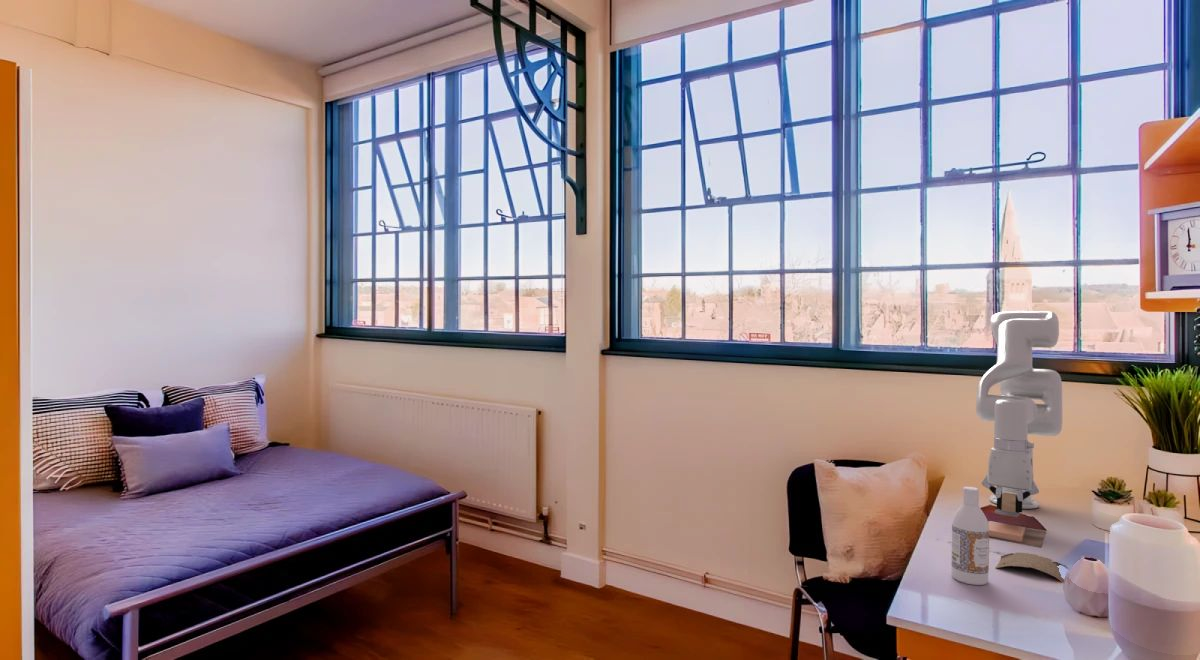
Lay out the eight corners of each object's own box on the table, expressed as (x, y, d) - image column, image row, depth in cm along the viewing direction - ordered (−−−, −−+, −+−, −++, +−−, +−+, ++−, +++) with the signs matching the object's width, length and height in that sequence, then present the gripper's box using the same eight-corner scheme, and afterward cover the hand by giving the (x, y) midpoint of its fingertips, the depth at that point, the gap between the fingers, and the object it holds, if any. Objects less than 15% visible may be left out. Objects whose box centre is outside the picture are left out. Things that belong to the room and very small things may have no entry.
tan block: (1000, 509, 173) (1000, 491, 173) (1022, 513, 170) (1022, 494, 170) (994, 513, 163) (995, 494, 164) (1017, 517, 160) (1018, 497, 161)
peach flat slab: (989, 520, 167) (984, 529, 160) (1025, 527, 162) (1022, 536, 155) (989, 526, 167) (984, 535, 160) (1025, 533, 162) (1022, 542, 155)
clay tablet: (1070, 572, 142) (1070, 560, 142) (1070, 587, 134) (1071, 574, 134) (995, 557, 150) (995, 546, 150) (991, 570, 142) (991, 559, 142)
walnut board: (983, 525, 173) (983, 520, 173) (1045, 536, 164) (1045, 530, 164) (974, 540, 160) (974, 534, 160) (1041, 553, 151) (1041, 547, 151)
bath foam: (969, 587, 132) (970, 493, 131) (944, 574, 138) (945, 484, 138) (996, 584, 133) (997, 491, 133) (970, 571, 140) (971, 483, 140)
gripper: (1048, 447, 165) (1047, 516, 166) (977, 439, 176) (976, 504, 176) (1046, 451, 160) (1045, 522, 160) (973, 443, 170) (972, 510, 170)
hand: (1009, 512), depth 168 cm, fingers closed on tan block, 3 cm apart
